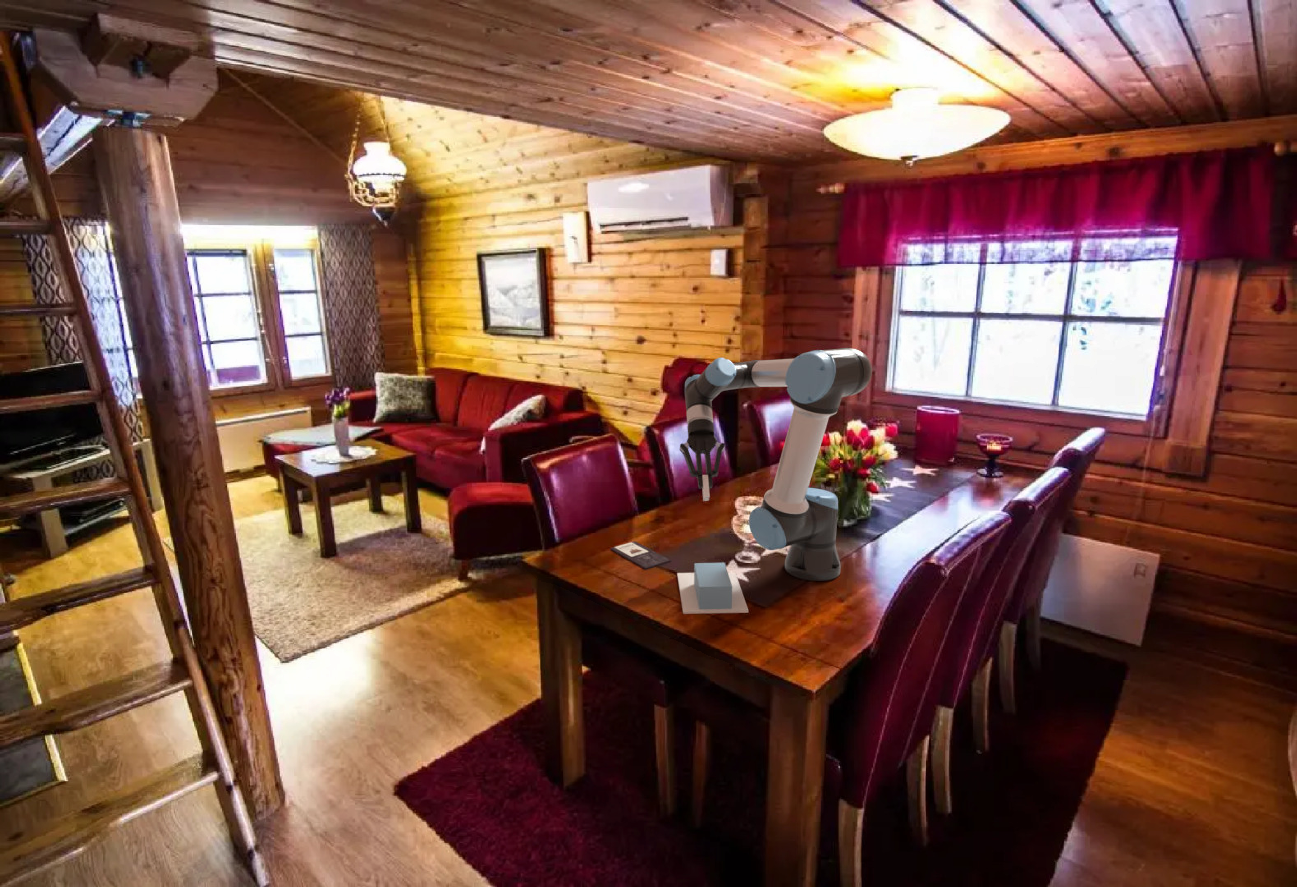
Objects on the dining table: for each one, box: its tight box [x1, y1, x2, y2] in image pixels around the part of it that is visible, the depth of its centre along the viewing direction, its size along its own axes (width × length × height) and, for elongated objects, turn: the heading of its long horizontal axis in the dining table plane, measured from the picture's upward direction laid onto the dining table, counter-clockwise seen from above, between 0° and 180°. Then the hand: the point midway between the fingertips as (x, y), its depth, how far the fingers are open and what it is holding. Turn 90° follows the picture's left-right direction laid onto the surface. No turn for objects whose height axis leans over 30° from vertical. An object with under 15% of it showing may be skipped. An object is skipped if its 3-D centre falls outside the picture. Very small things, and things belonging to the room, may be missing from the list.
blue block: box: [693, 562, 732, 609], centre depth 173 cm, size 8×6×14 cm
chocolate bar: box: [610, 540, 672, 571], centre depth 200 cm, size 9×1×18 cm
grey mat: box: [676, 571, 749, 615], centre depth 177 cm, size 16×22×1 cm
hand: (706, 498), depth 182 cm, fingers closed
